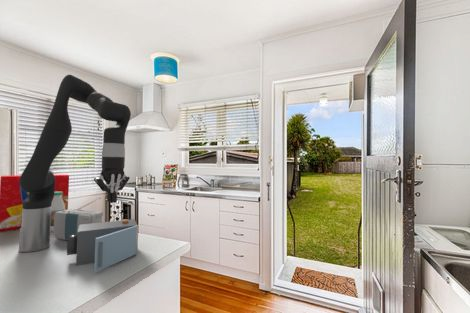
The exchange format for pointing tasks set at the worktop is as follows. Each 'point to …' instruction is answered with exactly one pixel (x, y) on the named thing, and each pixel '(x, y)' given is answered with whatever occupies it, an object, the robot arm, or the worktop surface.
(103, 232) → the camera housing
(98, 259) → the side door
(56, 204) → the milk bottle
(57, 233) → the stereo radio cassette player
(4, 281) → the worktop surface
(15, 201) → the red cardboard box
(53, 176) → the robot arm
